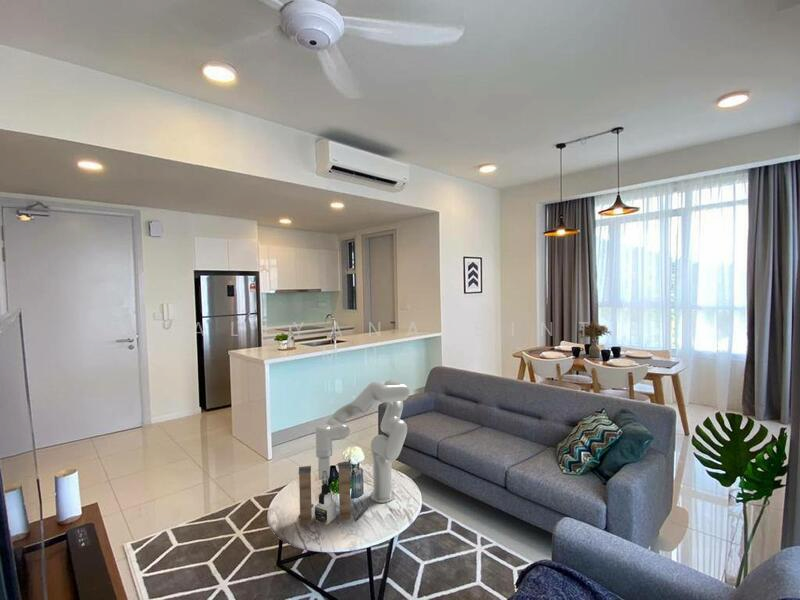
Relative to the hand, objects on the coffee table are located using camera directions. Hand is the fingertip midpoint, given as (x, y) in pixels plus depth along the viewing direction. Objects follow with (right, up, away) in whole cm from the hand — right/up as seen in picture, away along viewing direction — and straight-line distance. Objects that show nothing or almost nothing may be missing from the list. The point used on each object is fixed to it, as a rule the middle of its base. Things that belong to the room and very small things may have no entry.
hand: (325, 487), depth 179 cm
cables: (+3, -15, +5) cm, 16 cm away
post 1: (-9, -15, -1) cm, 17 cm away
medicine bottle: (0, -15, 0) cm, 15 cm away
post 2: (+9, -15, +2) cm, 17 cm away
